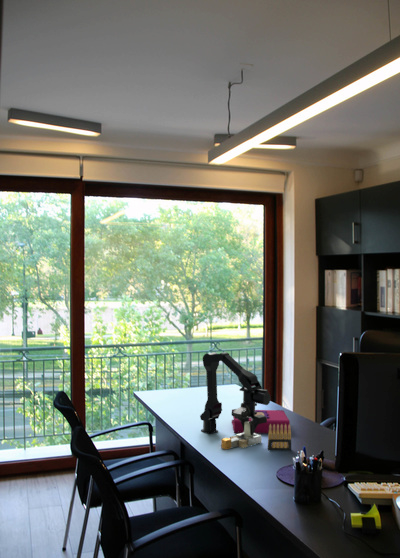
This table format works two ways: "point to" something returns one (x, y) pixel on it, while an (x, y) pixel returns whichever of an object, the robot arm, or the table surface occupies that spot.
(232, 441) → the pin
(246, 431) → the cream tapered cylinder
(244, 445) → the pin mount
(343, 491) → the table surface
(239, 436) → the socket
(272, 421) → the book
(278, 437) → the ammunition clip
